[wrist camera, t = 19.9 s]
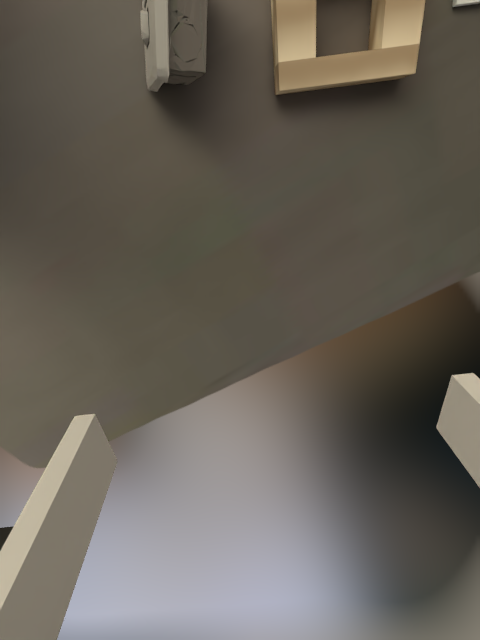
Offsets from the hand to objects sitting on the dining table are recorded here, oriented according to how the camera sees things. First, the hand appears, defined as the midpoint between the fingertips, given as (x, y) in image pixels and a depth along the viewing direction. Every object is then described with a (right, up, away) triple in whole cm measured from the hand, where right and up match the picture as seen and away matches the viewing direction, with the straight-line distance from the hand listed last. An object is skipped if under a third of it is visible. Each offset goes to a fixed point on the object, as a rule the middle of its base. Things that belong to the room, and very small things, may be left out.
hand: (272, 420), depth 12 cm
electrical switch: (-7, +30, +16) cm, 35 cm away
